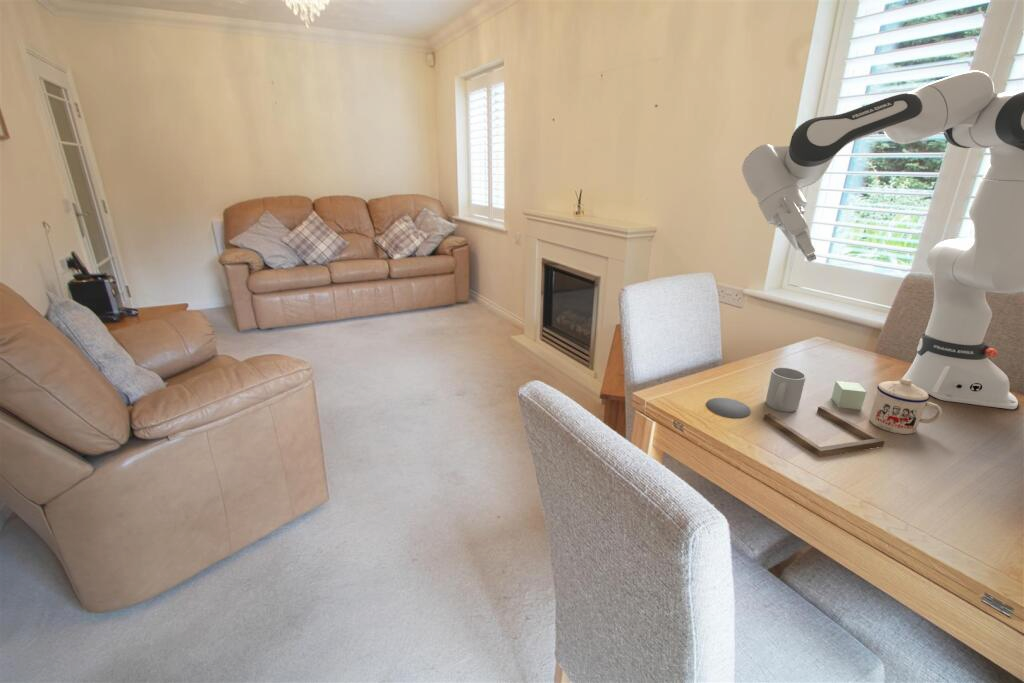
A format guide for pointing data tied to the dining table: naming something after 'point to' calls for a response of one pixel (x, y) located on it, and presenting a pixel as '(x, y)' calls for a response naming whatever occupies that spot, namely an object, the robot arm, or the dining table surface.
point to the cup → (785, 389)
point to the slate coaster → (728, 407)
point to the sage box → (848, 395)
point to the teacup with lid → (901, 407)
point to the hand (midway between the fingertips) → (812, 257)
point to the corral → (819, 451)
